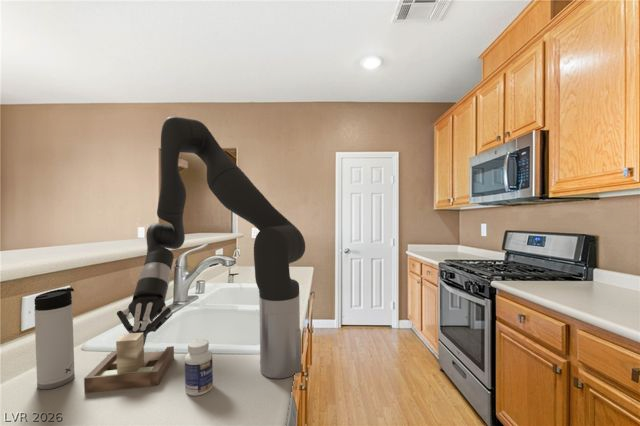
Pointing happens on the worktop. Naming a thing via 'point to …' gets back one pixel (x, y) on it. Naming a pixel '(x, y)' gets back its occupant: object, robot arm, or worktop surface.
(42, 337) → the travel mug
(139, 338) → the birch block
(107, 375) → the box
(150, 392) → the worktop surface
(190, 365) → the pill bottle
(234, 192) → the robot arm
